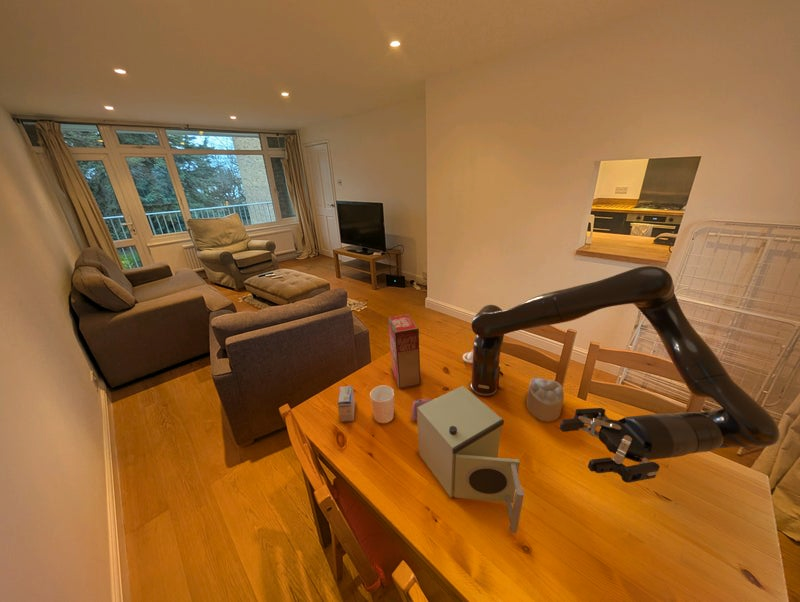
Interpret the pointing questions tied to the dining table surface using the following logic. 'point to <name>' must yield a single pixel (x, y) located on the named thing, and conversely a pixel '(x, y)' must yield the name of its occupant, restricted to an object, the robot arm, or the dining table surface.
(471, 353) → the ring around a ball
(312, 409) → the dining table surface
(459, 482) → the washer door
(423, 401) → the video game controller
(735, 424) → the robot arm
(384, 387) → the white cup
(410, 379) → the food packaging
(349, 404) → the medicine box
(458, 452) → the washer
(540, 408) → the lumpy-topped squat cylinder
